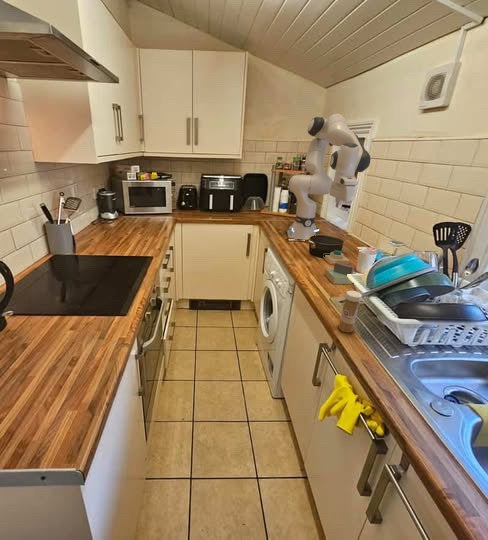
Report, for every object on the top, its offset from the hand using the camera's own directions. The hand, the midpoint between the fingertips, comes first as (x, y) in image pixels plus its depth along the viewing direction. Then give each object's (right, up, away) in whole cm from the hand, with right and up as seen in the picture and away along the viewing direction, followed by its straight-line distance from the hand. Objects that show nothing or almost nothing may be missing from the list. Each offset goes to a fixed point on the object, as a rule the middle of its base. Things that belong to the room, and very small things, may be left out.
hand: (338, 207), depth 151 cm
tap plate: (-4, -36, -15) cm, 39 cm away
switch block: (+1, -27, +7) cm, 28 cm away
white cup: (+10, -32, -5) cm, 34 cm away
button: (+2, -23, +5) cm, 24 cm away
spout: (-4, -33, -16) cm, 37 cm away
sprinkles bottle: (-19, -51, -52) cm, 75 cm away
